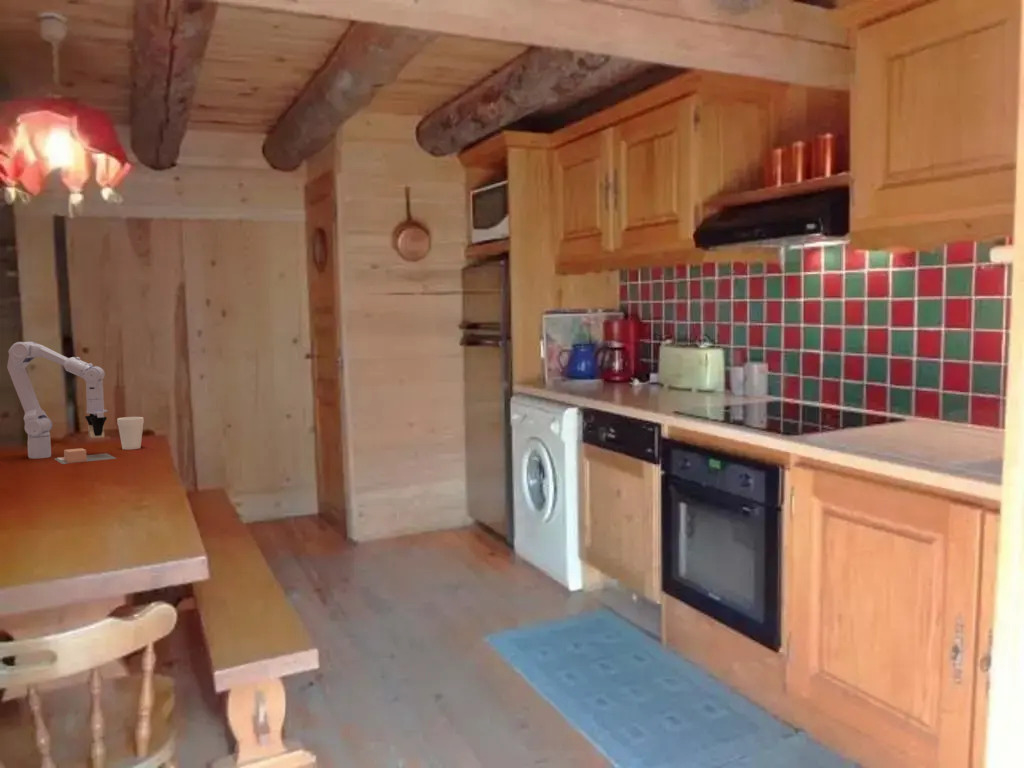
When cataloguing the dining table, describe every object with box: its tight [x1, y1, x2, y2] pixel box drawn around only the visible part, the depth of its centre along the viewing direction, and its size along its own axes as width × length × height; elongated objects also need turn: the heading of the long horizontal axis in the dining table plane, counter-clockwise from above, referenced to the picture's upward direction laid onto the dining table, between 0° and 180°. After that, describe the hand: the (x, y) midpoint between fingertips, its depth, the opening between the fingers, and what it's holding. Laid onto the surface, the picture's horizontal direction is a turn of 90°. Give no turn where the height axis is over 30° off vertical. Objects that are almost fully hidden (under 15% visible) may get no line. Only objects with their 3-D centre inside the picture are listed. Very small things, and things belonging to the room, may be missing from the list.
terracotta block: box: [63, 447, 88, 464], centre depth 289 cm, size 6×6×4 cm
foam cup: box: [116, 416, 145, 450], centre depth 318 cm, size 10×9×13 cm
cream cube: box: [87, 424, 105, 439], centre depth 300 cm, size 4×4×4 cm
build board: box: [53, 452, 117, 465], centre depth 294 cm, size 14×18×1 cm
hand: (96, 434), depth 300 cm, fingers closed on cream cube, 4 cm apart
